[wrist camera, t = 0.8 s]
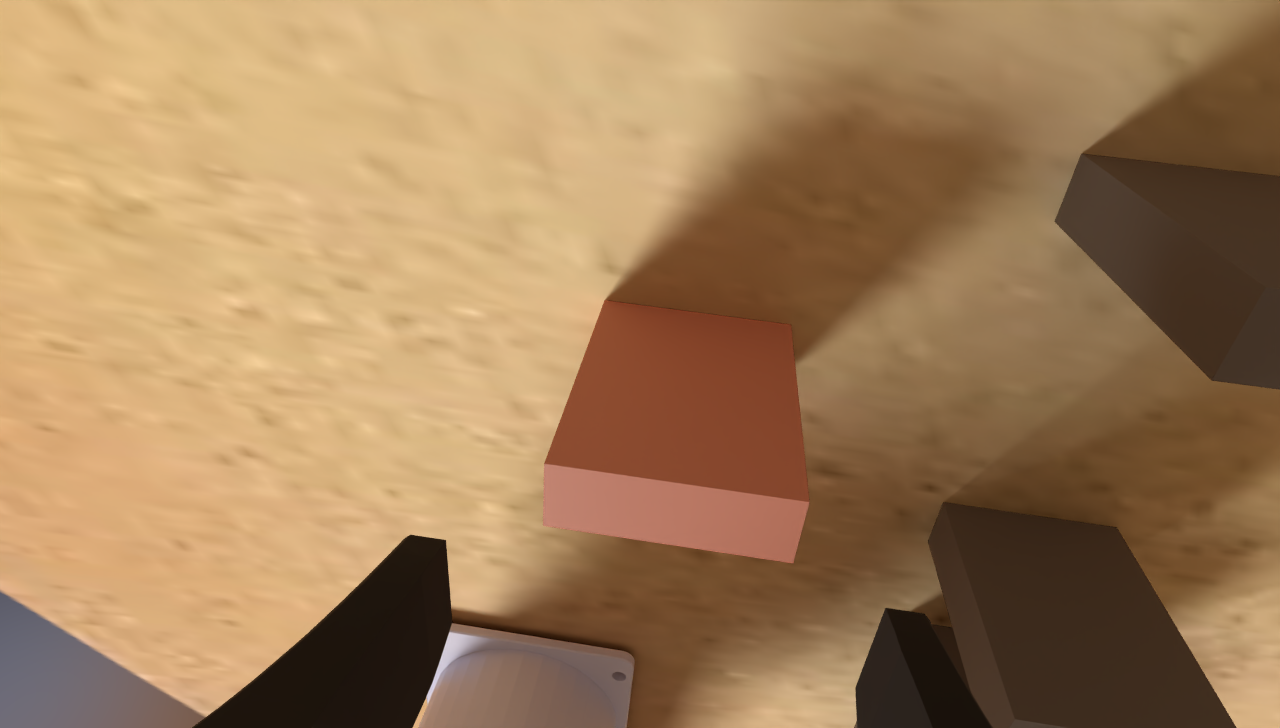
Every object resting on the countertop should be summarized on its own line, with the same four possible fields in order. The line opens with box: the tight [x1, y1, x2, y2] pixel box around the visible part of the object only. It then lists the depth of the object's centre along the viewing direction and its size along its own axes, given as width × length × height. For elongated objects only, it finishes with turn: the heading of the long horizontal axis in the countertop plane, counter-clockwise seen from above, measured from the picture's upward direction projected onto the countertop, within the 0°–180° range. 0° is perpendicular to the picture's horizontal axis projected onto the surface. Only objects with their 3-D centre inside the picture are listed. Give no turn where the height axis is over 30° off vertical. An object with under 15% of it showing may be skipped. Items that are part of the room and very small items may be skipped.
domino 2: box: [1055, 154, 1280, 389], centre depth 14 cm, size 2×5×7 cm, turn 85°
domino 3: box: [928, 502, 1236, 728], centre depth 19 cm, size 2×5×7 cm, turn 85°
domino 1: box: [543, 300, 810, 563], centre depth 17 cm, size 2×5×7 cm, turn 86°
